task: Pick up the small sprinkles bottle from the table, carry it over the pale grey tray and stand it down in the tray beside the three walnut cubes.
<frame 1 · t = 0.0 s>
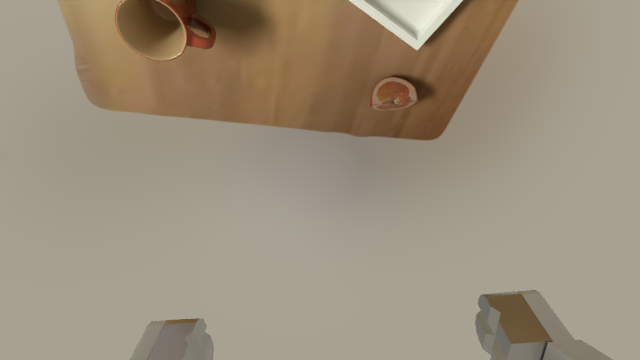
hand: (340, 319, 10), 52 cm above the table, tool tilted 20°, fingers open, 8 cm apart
fruit slice: (389, 88, 65), on the table
mug: (182, 3, 53), on the table
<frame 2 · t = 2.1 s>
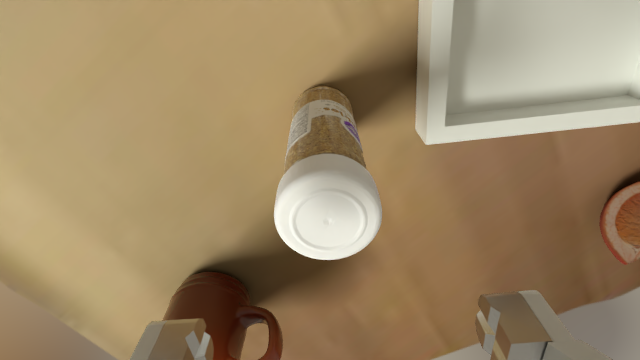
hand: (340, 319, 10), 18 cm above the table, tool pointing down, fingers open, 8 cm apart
fruit slice: (629, 200, 30), on the table
mug: (231, 287, 35), on the table
sprinkles bottle: (321, 113, 26), on the table
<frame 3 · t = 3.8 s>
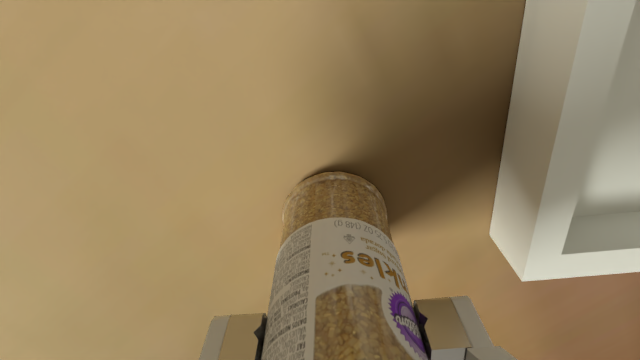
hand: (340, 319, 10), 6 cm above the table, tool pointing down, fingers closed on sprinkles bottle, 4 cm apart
sprinkles bottle: (332, 210, 15), on the table, touching gripper
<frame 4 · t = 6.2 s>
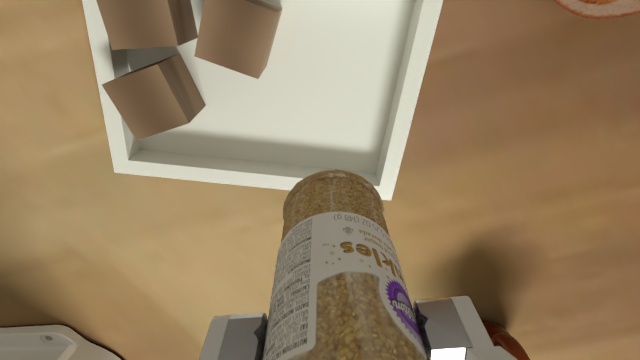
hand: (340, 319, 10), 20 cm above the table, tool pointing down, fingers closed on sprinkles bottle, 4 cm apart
cube c: (169, 88, 26), point 1 cm above the table, touching tray
mug: (477, 327, 41), on the table
sprinkles bottle: (331, 207, 16), point 14 cm above the table, touching gripper
cube a: (162, 7, 23), point 1 cm above the table, touching tray
cube b: (246, 28, 24), point 1 cm above the table, touching tray
tray: (265, 77, 26), on the table
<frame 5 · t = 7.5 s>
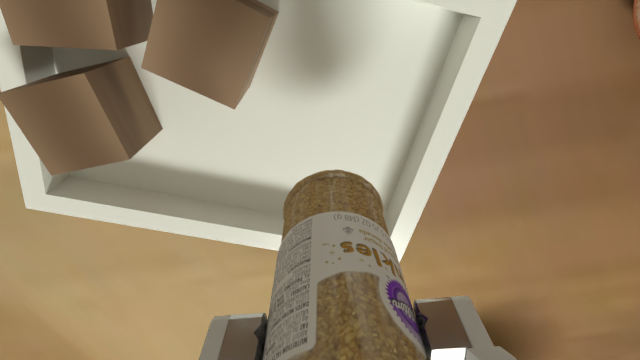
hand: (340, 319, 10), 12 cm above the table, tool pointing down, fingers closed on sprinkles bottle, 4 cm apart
cube c: (112, 102, 19), point 1 cm above the table, touching tray
sprinkles bottle: (331, 207, 16), point 6 cm above the table, touching gripper
cube b: (226, 32, 17), point 1 cm above the table, touching tray
tray: (247, 99, 20), on the table
when the fingers open (8 cm above the table, at t = 8.8 s): sprinkles bottle stays where it is, resting on tray.
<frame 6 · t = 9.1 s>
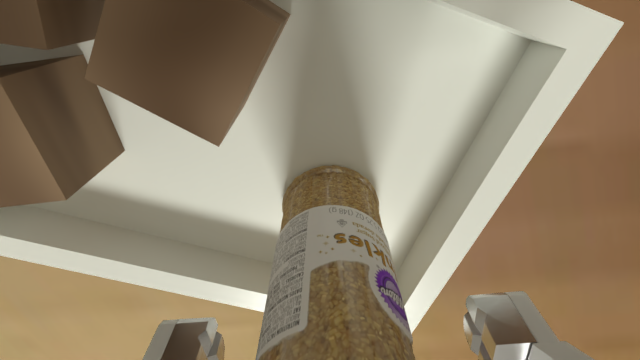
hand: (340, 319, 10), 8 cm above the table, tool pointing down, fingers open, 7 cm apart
cube c: (58, 111, 14), point 1 cm above the table, touching tray
sprinkles bottle: (329, 202, 17), point 1 cm above the table, touching tray
cube b: (216, 34, 13), point 1 cm above the table, touching tray
tray: (239, 122, 15), on the table
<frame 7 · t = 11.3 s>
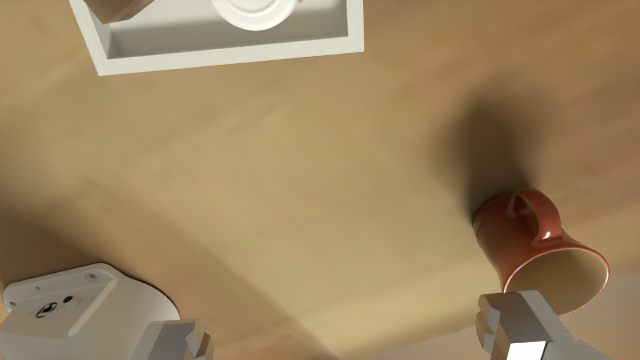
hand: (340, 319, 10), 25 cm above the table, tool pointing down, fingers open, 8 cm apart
mug: (501, 204, 38), on the table
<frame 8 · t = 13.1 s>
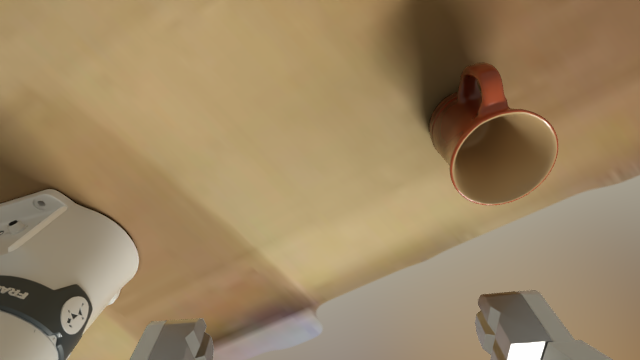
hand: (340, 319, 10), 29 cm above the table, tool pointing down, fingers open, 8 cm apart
mug: (457, 106, 37), on the table
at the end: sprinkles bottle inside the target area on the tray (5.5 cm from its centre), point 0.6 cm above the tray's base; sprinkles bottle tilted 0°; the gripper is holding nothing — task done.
